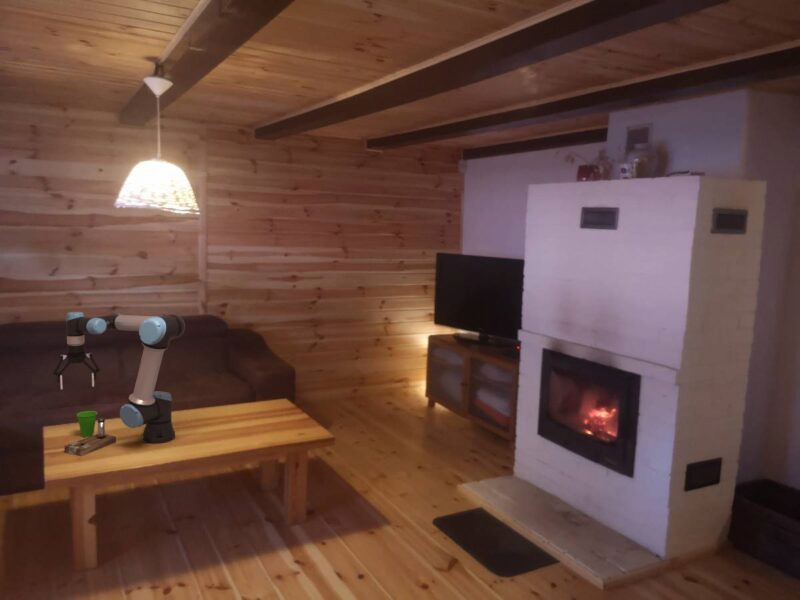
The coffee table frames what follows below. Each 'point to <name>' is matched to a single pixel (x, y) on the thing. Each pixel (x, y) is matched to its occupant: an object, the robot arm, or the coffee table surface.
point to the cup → (87, 422)
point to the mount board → (89, 444)
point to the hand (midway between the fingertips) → (77, 387)
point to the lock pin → (101, 428)
